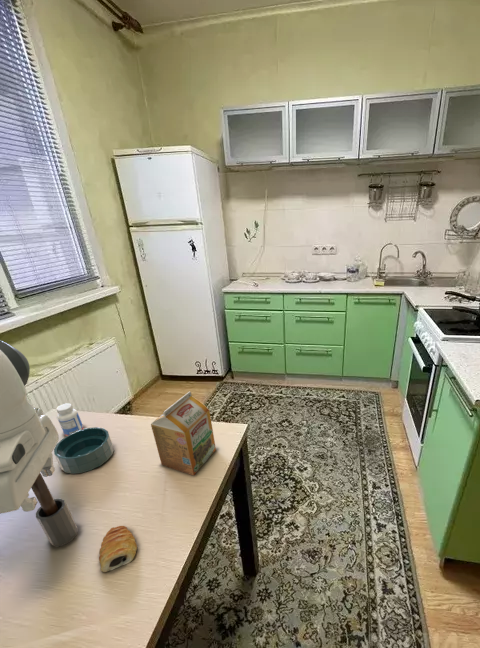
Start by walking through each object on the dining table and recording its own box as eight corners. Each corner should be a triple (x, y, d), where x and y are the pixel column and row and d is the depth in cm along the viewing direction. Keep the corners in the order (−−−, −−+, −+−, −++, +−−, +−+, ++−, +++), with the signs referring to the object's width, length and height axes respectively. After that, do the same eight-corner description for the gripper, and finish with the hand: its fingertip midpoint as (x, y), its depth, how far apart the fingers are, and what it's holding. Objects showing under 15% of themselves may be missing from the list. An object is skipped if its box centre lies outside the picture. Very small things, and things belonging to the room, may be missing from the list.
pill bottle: (73, 426, 106) (63, 401, 102) (87, 427, 105) (78, 402, 101) (60, 436, 101) (49, 411, 97) (75, 438, 101) (65, 412, 96)
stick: (56, 541, 69) (22, 478, 60) (60, 532, 71) (28, 469, 62) (68, 538, 69) (36, 475, 61) (71, 529, 71) (40, 467, 63)
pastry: (100, 539, 69) (95, 527, 68) (133, 525, 72) (129, 513, 71) (102, 577, 62) (97, 565, 60) (140, 560, 65) (135, 548, 63)
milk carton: (193, 475, 85) (181, 416, 77) (162, 465, 89) (146, 408, 80) (216, 450, 94) (206, 394, 85) (186, 442, 97) (174, 387, 89)
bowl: (54, 480, 85) (45, 463, 82) (70, 447, 97) (64, 431, 94) (108, 470, 88) (102, 453, 85) (118, 439, 99) (113, 423, 97)
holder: (47, 551, 67) (31, 522, 63) (56, 530, 72) (41, 501, 68) (74, 545, 68) (59, 515, 64) (81, 524, 73) (68, 496, 69)
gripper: (19, 405, 66) (44, 457, 72) (-46, 478, 48) (-5, 539, 54) (53, 400, 67) (75, 452, 73) (3, 469, 49) (37, 529, 56)
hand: (41, 489), depth 64 cm, fingers open, 7 cm apart
